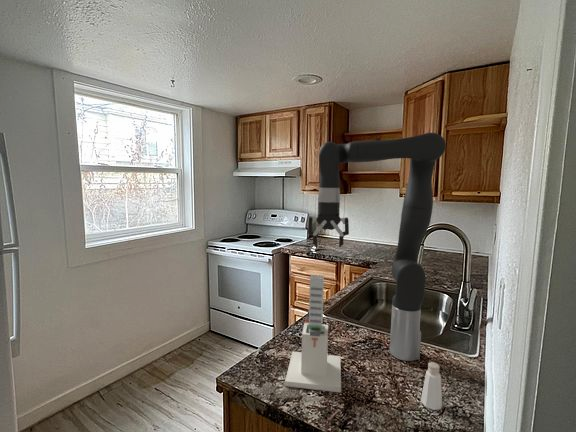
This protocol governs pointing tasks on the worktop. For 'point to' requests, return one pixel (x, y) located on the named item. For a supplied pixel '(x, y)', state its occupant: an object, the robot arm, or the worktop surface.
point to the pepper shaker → (432, 388)
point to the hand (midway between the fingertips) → (327, 246)
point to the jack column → (316, 302)
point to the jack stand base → (314, 363)
